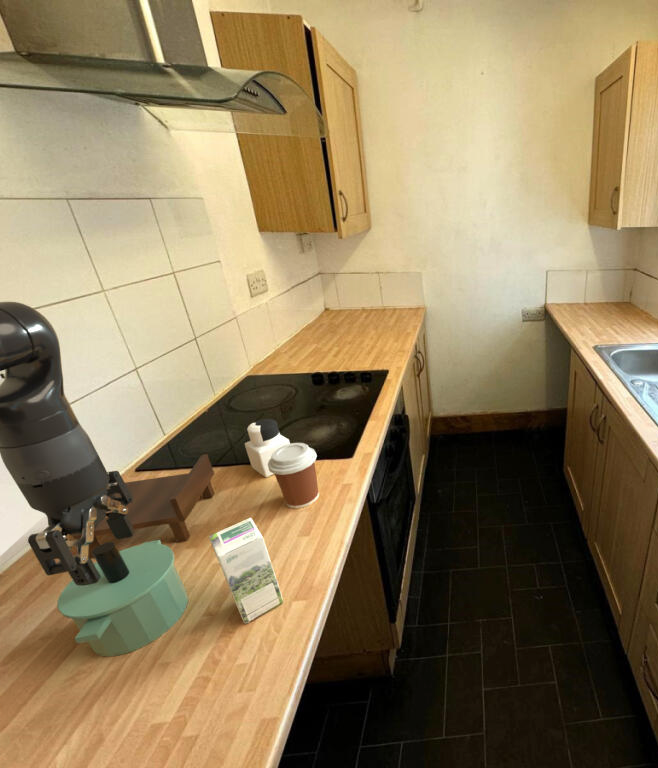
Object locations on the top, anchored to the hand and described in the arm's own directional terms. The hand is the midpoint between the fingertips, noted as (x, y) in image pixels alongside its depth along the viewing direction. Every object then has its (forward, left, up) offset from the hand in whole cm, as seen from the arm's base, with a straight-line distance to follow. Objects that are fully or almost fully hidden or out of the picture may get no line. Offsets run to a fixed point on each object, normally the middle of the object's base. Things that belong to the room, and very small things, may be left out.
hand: (109, 558), depth 59 cm
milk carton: (+17, -2, -13) cm, 21 cm away
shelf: (-8, +24, -13) cm, 28 cm away
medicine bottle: (+10, +39, -13) cm, 42 cm away
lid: (0, 0, -4) cm, 4 cm away
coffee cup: (+19, +24, -13) cm, 33 cm away
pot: (0, 0, -13) cm, 13 cm away
